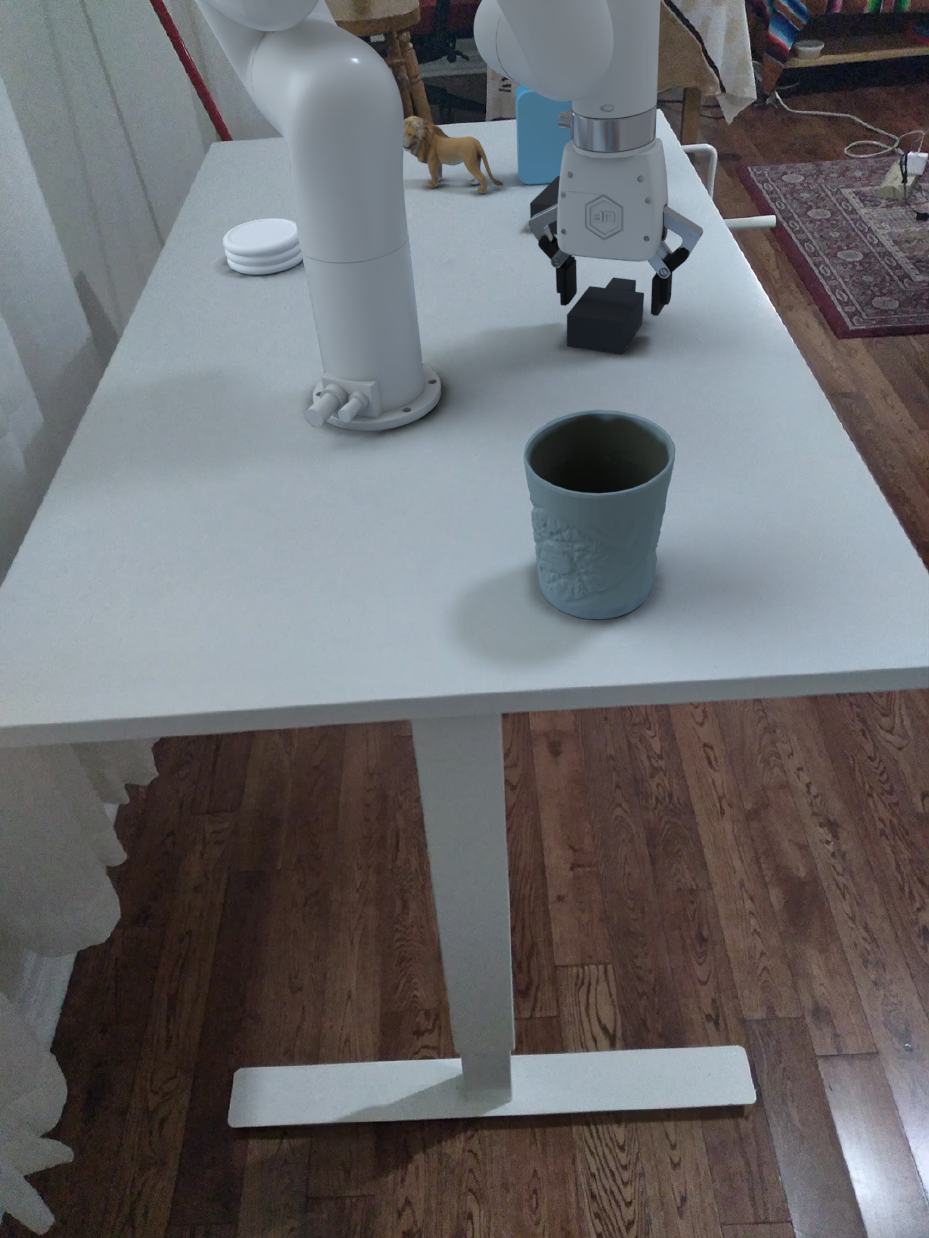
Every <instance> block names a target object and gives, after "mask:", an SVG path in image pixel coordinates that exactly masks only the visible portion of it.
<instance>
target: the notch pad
mask: <svg viewBox="0 0 929 1238" xmlns="http://www.w3.org/2000/svg"><path fill="white" fill-rule="evenodd" d="M559 181H560V176H557V177H556V178H555V179H554V180H553V181H552V182H551V183H548V185H547V186H546V187H545V188H543V190H542V191H541V192H540V193H539V194H538V195H536V196H535V198H534V199H533V200H532V201H531V202H530V203H529V205H530V206H529V211H530V212H529V215H530V216H529V217H530V219H531V218H532V217H533V216H534V215H535V214H537V213H539V212H541V211H543V210H545V209H547V208H549V207H551V206H553V205H555V204H557V203H558V194H559ZM530 219H529V220H530ZM548 226H549V228H550V232H551V233H553V234H556V235H557V221H555V222H552V223H550V224H548ZM530 231H531V232H532V230H531V229H530Z"/></svg>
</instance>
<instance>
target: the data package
mask: <svg viewBox="0 0 929 1238" xmlns="http://www.w3.org/2000/svg"><path fill="white" fill-rule="evenodd" d="M571 109H572V101H568V102H562V101H554V100H551V99H548V98H546V97H544V96H542V95H540V94H538V93H536V92H534V91H532V90H531V89H529V88H527V87H525V86H522V85H520V84H519V86H518V87H517V88H516V91H515V121H516V124H515V125H516V156H517V174H518V178H519V180H520V181H521V182H522V183H524V185H525V184H526V185H530V186H531V185H545V184H550V183H551V182H552V181H553V180H554V179H555V178H556V177H557V176H560V171H561V163H562V157H563V151H564V146H565V145H566V144H567V143H568V142H570V141H571V133H570V130H567V129H566V128H559V125H558V117H559V114H560V112H567V111H570V110H571Z"/></svg>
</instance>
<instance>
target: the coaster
mask: <svg viewBox="0 0 929 1238" xmlns="http://www.w3.org/2000/svg"><path fill="white" fill-rule="evenodd" d="M222 245H223V248H224V254H225V256H226V257H227V258H226V262H227V265H228V266H229V267H230V269H232V270H233V271H235V272H236V273H237V272H238V273H240V274H245V275H253V276H262V275H263V276H264V275H271V274H276V273H281V272H283V271H286V270H289V269H291V268H294V267H296V266H298V265H299V264H300V263H301V262H303V257H302V252H301V249H300V243H299V238H298V233H297V227H296V221H295V220H292V219H286V218H275V217H274V218H272V217H270V218H261V219H260V218H259V219H255V220H250V221H247V222H244V223H241V224H238V225H236V226H234V227H233V228H231V229H230V230H228V231H227V232H226V233H225V235H224V236H223V238H222Z"/></svg>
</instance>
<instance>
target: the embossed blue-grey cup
mask: <svg viewBox="0 0 929 1238" xmlns="http://www.w3.org/2000/svg"><path fill="white" fill-rule="evenodd" d="M675 460H676V445H675V442H674V441H673V438H672V437H671V436H670V435H669V433H668V432H667V431H666V429H664V428H662V427H661V426H660V425H659V424H657V423H656V422H653V421H652V420H650V419H648V418H646V417H643V416H640V415H637V414H635V413H630V412H625V411H621V410H613V409H612V410H611V409H608V410H607V409H592V410H582V411H576V412H571V413H568V414H565V415H561V416H559V417H556V418H554V419H552V420H549V421H548V422H547V423H546V424H544V425H543V426H541V427H539V428H538V429H536V430H535V431H534V432H533V433H532V434H531V436H529V438H528V439H527V441H526V443H525V446H524V450H523V464H524V471H525V476H526V485H527V489H528V492H529V501H530V502H531V505H532V506H533V508H532V510H531V512H530V513H531V514H530V515H531V527H532V530H533V533H532V534H533V541H534V542H535V547H534V549H535V556H536V557H535V558H536V568H537V579H538V584H539V588H540V590H541V592H542V594H543V596H544V598H545V599H546V601H547V602H548V603H550V604H551V606H553V607H554V608H556V609H557V610H559V611H561V612H562V613H564V614H567V615H570V616H572V617H576V618H580V619H584V620H585V619H586V620H607V619H615V618H619V617H621V616H624V615H627V614H629V613H631V612H633V611H634V610H636V609H638V608H639V607H640V606H641V605H642V604H643V603H644V602H646V601H647V599H648V596H649V595H650V593H651V591H652V588H653V585H654V578H655V573H656V568H657V561H658V555H657V548H658V544H659V541H660V536H661V528H662V527H663V526H662V525H663V522H664V521H663V520H664V515H665V513H666V508H667V504H666V503H667V498H668V493H669V488H670V484H671V481H672V476H673V475H672V474H673V471H674V465H675Z"/></svg>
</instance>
